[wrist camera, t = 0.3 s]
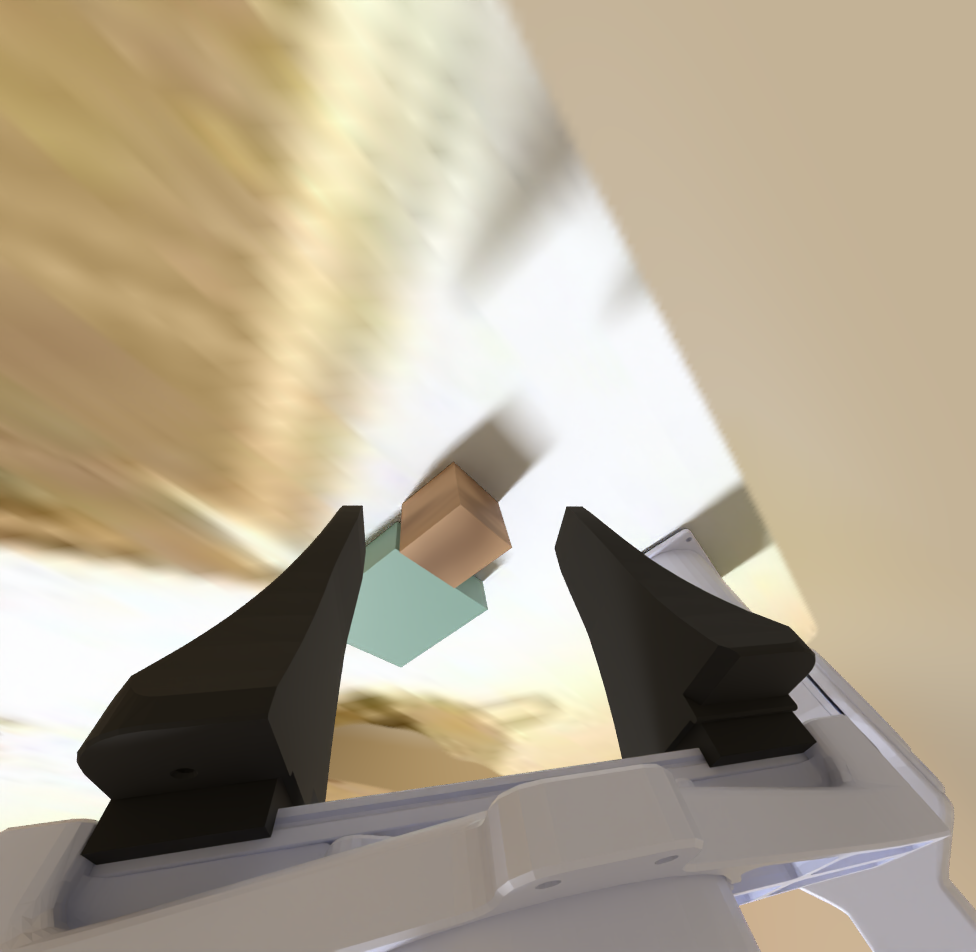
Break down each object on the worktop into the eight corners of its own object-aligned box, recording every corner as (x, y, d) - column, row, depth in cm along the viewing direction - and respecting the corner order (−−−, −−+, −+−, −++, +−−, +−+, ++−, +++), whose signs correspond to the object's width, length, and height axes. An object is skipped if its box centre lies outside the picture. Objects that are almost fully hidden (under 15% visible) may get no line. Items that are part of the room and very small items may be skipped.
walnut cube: (497, 501, 25) (511, 547, 21) (449, 538, 26) (454, 588, 22) (453, 461, 23) (460, 504, 19) (402, 503, 24) (399, 552, 20)
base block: (481, 578, 29) (487, 609, 27) (402, 633, 31) (401, 667, 29) (397, 517, 25) (395, 548, 22) (311, 587, 27) (300, 623, 24)
